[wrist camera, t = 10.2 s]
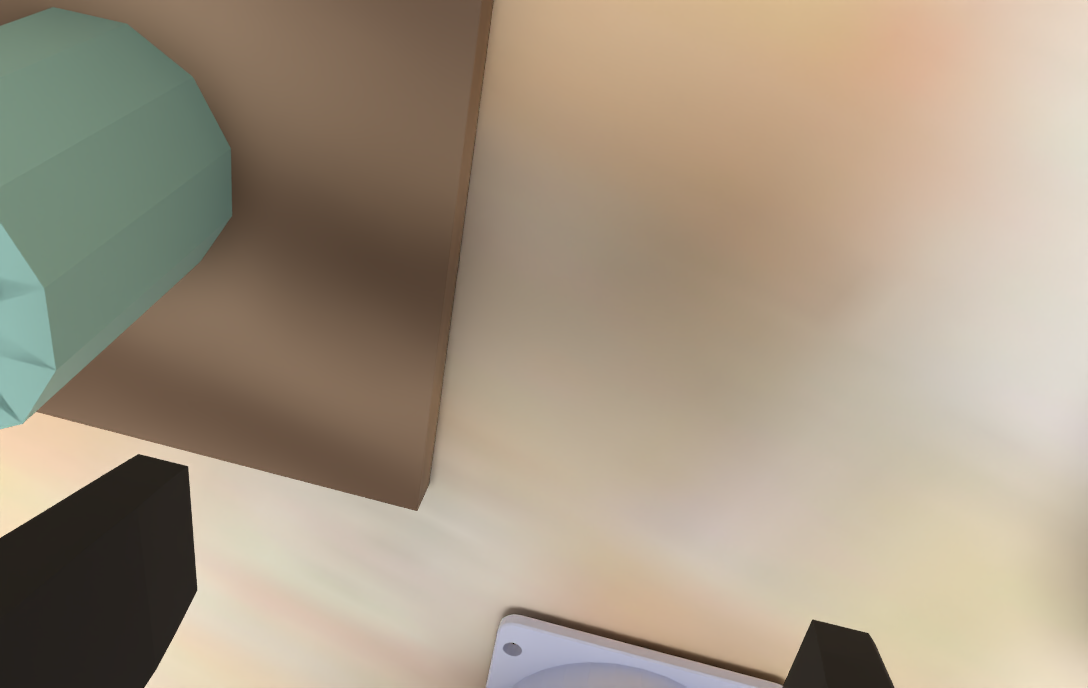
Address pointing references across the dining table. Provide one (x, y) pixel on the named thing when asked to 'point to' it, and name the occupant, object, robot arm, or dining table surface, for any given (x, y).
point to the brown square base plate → (307, 240)
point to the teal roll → (94, 193)
